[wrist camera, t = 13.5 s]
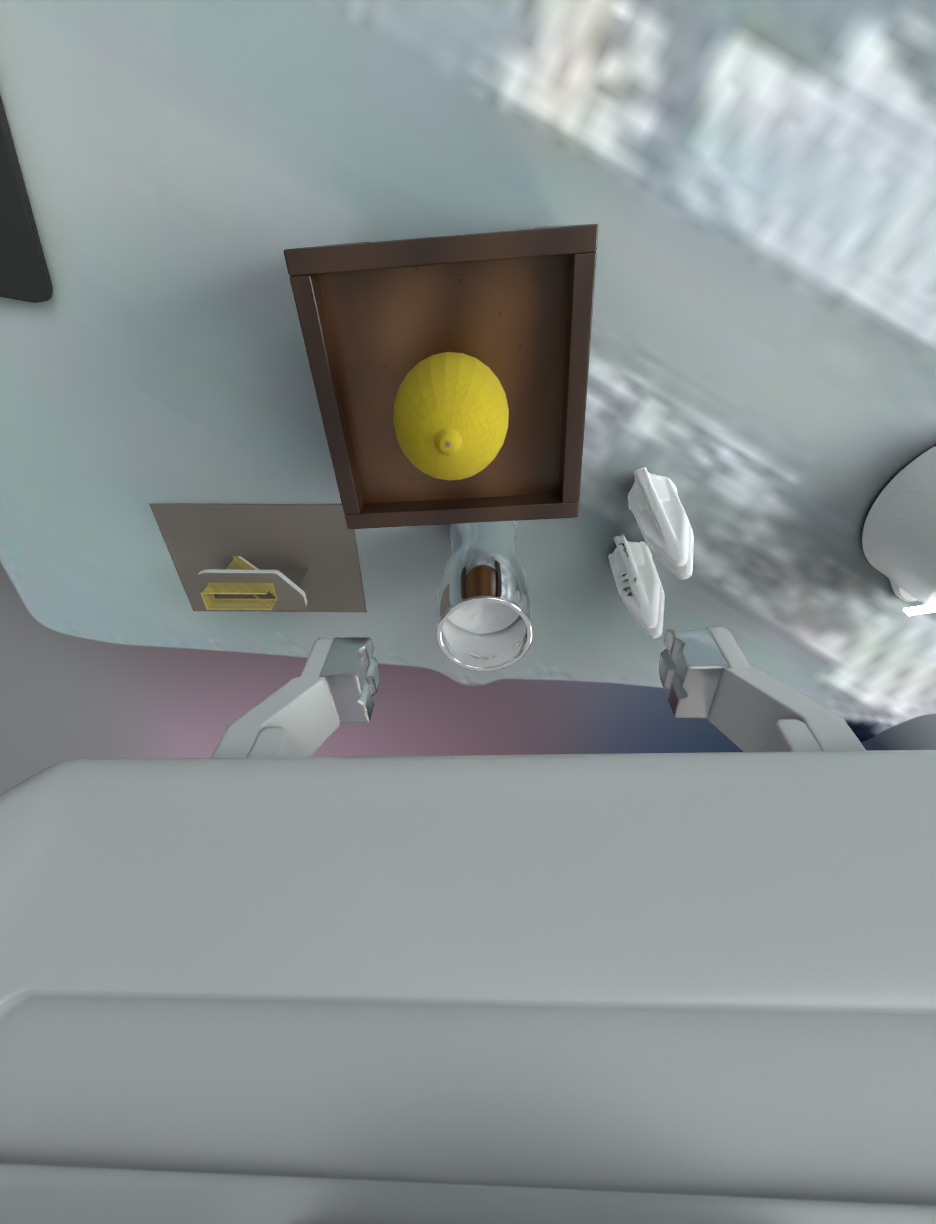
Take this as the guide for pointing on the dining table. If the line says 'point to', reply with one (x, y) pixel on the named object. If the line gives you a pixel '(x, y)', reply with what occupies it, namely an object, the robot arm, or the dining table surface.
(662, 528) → the shaker set
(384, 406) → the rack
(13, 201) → the phone
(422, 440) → the lemon
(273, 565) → the platform
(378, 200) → the dining table surface
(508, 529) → the beer glass
